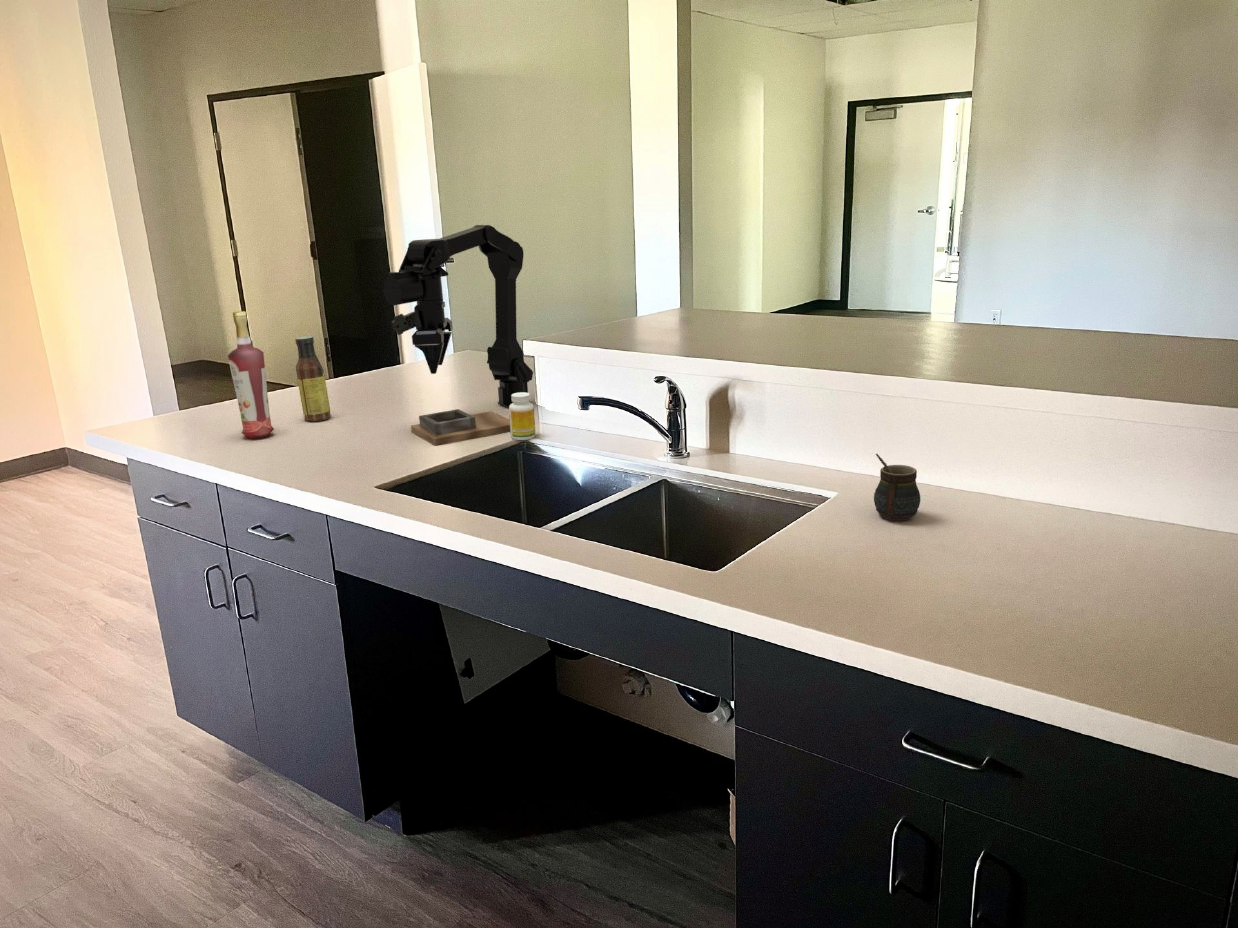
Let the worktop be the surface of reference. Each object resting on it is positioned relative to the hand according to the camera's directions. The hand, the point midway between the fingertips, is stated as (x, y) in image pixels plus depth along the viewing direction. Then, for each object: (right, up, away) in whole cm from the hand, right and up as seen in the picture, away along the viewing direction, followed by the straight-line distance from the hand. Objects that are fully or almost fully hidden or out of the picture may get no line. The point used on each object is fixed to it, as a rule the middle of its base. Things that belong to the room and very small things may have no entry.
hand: (436, 369), depth 202 cm
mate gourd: (+85, -30, -57) cm, 107 cm away
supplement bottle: (+20, -16, -5) cm, 26 cm away
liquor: (-41, -15, +2) cm, 43 cm away
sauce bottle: (-32, -11, +15) cm, 37 cm away
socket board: (+6, -14, +1) cm, 15 cm away
